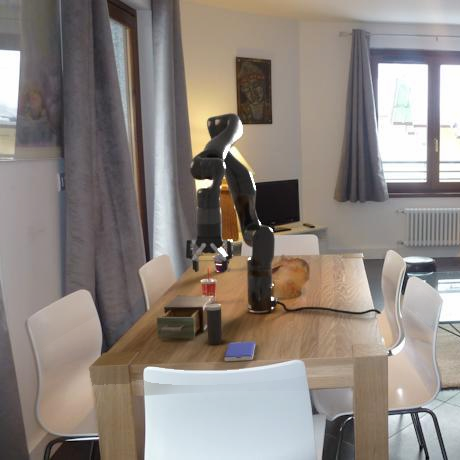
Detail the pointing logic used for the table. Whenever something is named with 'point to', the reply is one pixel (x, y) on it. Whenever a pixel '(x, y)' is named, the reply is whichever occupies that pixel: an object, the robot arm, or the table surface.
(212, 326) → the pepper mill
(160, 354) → the table surface
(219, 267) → the potion bottle
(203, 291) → the beverage cup
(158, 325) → the drawer
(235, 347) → the hard drive
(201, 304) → the cabinet
